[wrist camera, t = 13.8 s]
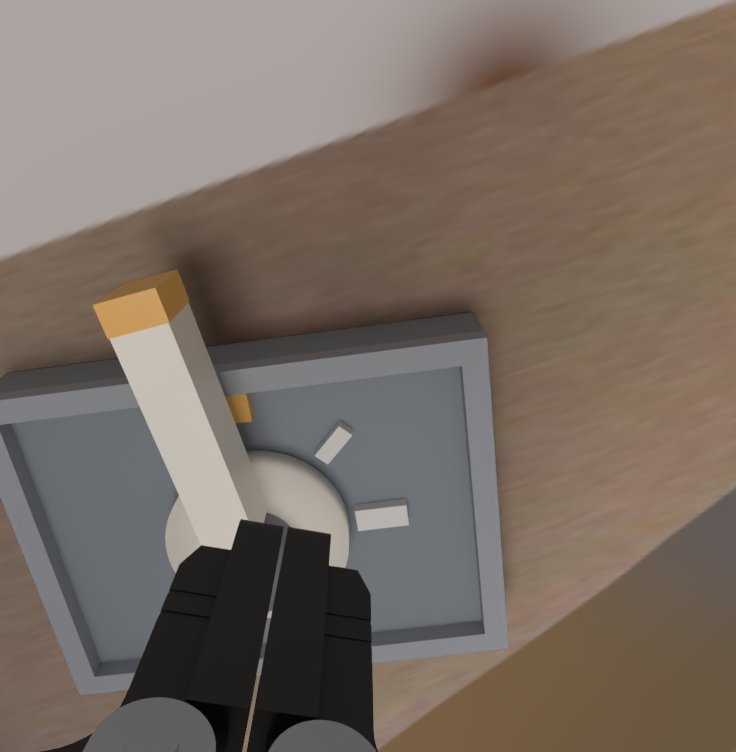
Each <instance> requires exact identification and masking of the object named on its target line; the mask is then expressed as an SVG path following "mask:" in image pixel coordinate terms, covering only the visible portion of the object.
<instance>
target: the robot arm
mask: <svg viewBox="0 0 736 752" xmlns="http://www.w3.org/2000/svg"><path fill="white" fill-rule="evenodd" d="M283 529H284V526H279V525H273V524H267V523H261V522H255V521H249V520H242V519H241V520H240V522H239V525H238V529H237V532H236V535H235V538H234V542H233V545H232V548H231V550H228V549H222V548H215V547H209V546H203V545H201V546H200V547H199V548H198V549H196V550H195V551H194V552H193V553H192V554H191V555H189V556H188V557H187V558H186V559H185V560H184V561H183V562H181V563H180V564H179V567H178V569H177V572H176V574H175V577H174V579H173V581H172V584H171V586H170V589H169V593H168V594H167V596H166V599H165V601H164V604H163V606H162V608H161V612H160V615H159V616H158V618H157V621H156V623H155V626H154V628H153V630H152V633H151V635H150V638H149V640H148V643H147V645H146V648H145V650H144V653H143V655H142V657H141V660H140V662H139V665H138V667H137V670H136V672H135V675H134V677H133V680H132V682H131V684H130V687H129V689H128V692H127V694H126V697H125V699H124V701H123V703H122V704H121V706H120V707H119V709H117V710H115V711H114V712H112V713H111V714H110V715H109V716H107V717H106V718H105V719H104V720H103V721H102V722H101V723H100V724H99V725H98V726H97V728H96V729H95V731H94V732H93V733H92V734H90V735H89V736H87V737H86V738H83V739H81V740H79V741H77V742H75V743H73V744H70V745H67V746H64V747H61V748H57V749H52V750H48V751H42V752H242V749H243V744H244V738H245V733H246V728H247V722H248V717H249V712H250V706H251V701H252V696H253V691H254V685H255V680H256V675H257V669H258V664H259V659H260V653H261V648H262V643H263V637H264V632H265V627H266V621H267V616H268V611H269V605H270V600H271V594H272V589H273V584H274V578H275V573H276V567H277V562H278V557H279V551H280V546H281V540H282V535H283ZM330 544H331V534H329V533H323V532H317V531H310V530H304V529H298V528H292V527H288V530H287V535H286V540H285V545H284V551H283V556H282V561H281V567H280V572H279V577H278V583H277V588H276V594H275V599H274V604H273V610H272V615H271V620H270V626H269V631H268V637H267V642H266V648H265V653H264V659H263V664H262V670H261V675H260V681H259V687H258V692H257V698H256V703H255V709H254V714H253V720H252V725H251V731H250V736H249V742H248V747H247V752H378V751H377V748H376V744H375V740H374V731H373V683H372V647H371V642H372V633H371V594H370V592H369V590H368V588H367V586H366V584H365V583H364V581H363V579H362V577H361V575H360V574H359V572H358V570H354V569H347V568H341V567H335V566H329V558H330Z"/></svg>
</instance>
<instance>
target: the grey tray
mask: <svg viewBox="0 0 736 752" xmlns="http://www.w3.org/2000/svg"><path fill="white" fill-rule="evenodd" d="M206 349H207V351H208V354H209V357H210V359H211V362H212V364H213V367H214V369H215V372H216V375H217V377H218V380H219V382H220V385H221V388H222V390H223V393H224V395H225V398H226V400H227V403H228V406H229V408H230V411H231V413H232V416H233V418H234V421H235V424H236V426H237V429H238V431H239V434H240V437H241V439H242V442H243V444H244V447H245V449H246V451H252V450H261V451H272V452H278V453H282V454H286V455H289V456H292V457H295V458H297V459H300V460H302V461H304V462H306V463H307V464H309V465H311V466H313V467H314V468H315V469H317V470H318V471H320V472H321V473H322V474H323V475H324V476H325V477H326V478H327V479H329V480H330V482H331V483H332V484H333V485H334V486H335V488H336V489H337V490H338V492H339V494H340V495H341V497H342V499H343V501H344V504H345V506H346V509H347V513H348V517H349V526H350V532H349V555H348V560H347V564H346V567H345V568H347V569H354V570H358V572H359V574H360V575H361V577H362V579H363V581H364V583H365V584H366V586H367V588H368V590H369V592H370V594H371V633H372V642H371V647H372V663H381V662H390V661H399V660H409V659H418V658H427V657H436V656H445V655H454V654H464V653H473V652H482V651H491V650H500V649H508V635H507V620H506V606H505V591H504V577H503V562H502V548H501V533H500V519H499V504H498V490H497V475H496V461H495V446H494V432H493V417H492V403H491V388H490V374H489V359H488V345H487V337H486V335H485V333H484V331H483V330H482V328H481V326H480V324H479V322H478V321H477V319H476V317H475V315H474V314H473V312H470V313H462V314H455V315H447V316H439V317H432V318H424V319H416V320H409V321H401V322H393V323H386V324H378V325H370V326H363V327H355V328H347V329H340V330H332V331H324V332H317V333H309V334H301V335H294V336H286V337H278V338H271V339H263V340H255V341H248V342H240V343H232V344H225V345H217V346H210V347H206ZM178 496H179V494H178V492H177V490H176V488H175V485H174V483H173V481H172V479H171V476H170V474H169V472H168V469H167V467H166V465H165V463H164V460H163V458H162V456H161V454H160V451H159V449H158V447H157V445H156V442H155V440H154V438H153V436H152V433H151V431H150V429H149V427H148V424H147V422H146V420H145V418H144V415H143V413H142V411H141V409H140V406H139V404H138V402H137V400H136V397H135V395H134V393H133V391H132V388H131V386H130V384H129V382H128V379H127V377H126V375H125V373H124V370H123V368H122V366H121V364H120V361H119V359H110V360H102V361H95V362H87V363H79V364H72V365H64V366H56V367H49V368H41V369H33V370H26V371H18V372H10V373H7V374H5V375H4V376H2V377H1V378H0V498H1V500H2V503H3V505H4V508H5V510H6V513H7V515H8V518H9V520H10V523H11V525H12V528H13V530H14V533H15V535H16V538H17V540H18V543H19V545H20V548H21V550H22V553H23V555H24V558H25V560H26V563H27V565H28V568H29V570H30V573H31V575H32V578H33V580H34V583H35V585H36V587H37V590H38V592H39V595H40V597H41V600H42V602H43V605H44V607H45V610H46V612H47V615H48V617H49V620H50V622H51V625H52V627H53V630H54V632H55V635H56V637H57V640H58V642H59V645H60V647H61V650H62V652H63V655H64V657H65V660H66V662H67V665H68V667H69V670H70V672H71V675H72V677H73V680H74V682H75V685H76V687H77V690H78V692H79V695H88V694H97V693H106V692H115V691H124V690H128V689H129V687H130V684H131V682H132V680H133V677H134V675H135V672H136V670H137V667H138V665H139V662H140V660H141V657H142V655H143V653H144V650H145V648H146V645H147V643H148V640H149V638H150V635H151V633H152V630H153V628H154V626H155V623H156V621H157V618H158V616H159V615H160V612H161V608H162V606H163V604H164V601H165V599H166V596H167V594H168V593H169V589H170V586H171V584H172V581H173V579H174V577H175V574H176V573H175V571H174V570H173V568H172V566H171V563H170V561H169V558H168V555H167V550H166V544H165V532H166V525H167V521H168V517H169V515H170V513H171V510H172V508H173V506H174V504H175V502H176V500H177V498H178ZM270 620H271V618H267V621H266V627H265V632H264V637H263V643H262V648H261V653H260V659H259V664H258V669H257V675H256V676H260V675H261V670H262V664H263V659H264V653H265V648H266V642H267V637H268V631H269V626H270Z"/></svg>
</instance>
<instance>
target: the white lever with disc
mask: <svg viewBox="0 0 736 752" xmlns="http://www.w3.org/2000/svg"><path fill="white" fill-rule="evenodd" d="M93 307H94V310H95V312H96V314H97V316H98V319H99V321H100V323H101V325H102V328H103V330H104V332H105V334H106V337H107V339H110V341H111V343H112V346H113V348H114V350H115V352H116V355H117V357H118V359H119V361H120V364H121V366H122V368H123V370H124V373H125V375H126V377H127V379H128V382H129V384H130V386H131V388H132V391H133V393H134V395H135V397H136V400H137V402H138V404H139V406H140V409H141V411H142V413H143V415H144V418H145V420H146V422H147V424H148V427H149V429H150V431H151V433H152V436H153V438H154V440H155V442H156V445H157V447H158V449H159V451H160V454H161V456H162V458H163V460H164V463H165V465H166V467H167V469H168V472H169V474H170V476H171V479H172V481H173V483H174V485H175V488H176V490H177V492H178V494H179V496H178V498H177V500H176V502H175V504H174V506H173V508H172V510H171V513H170V515H169V517H168V521H167V525H166V532H165V544H166V550H167V555H168V558H169V561H170V563H171V566H172V568H173V570H174V571H175V573H176V572H177V569H178V567H179V564H180V563H181V562H183V561H184V560H185V559H186V558H187V557H188V556H189V555H191V554H192V553H193V552H194V551H195V550H196V549H198V548H199V547H200V546H201V545H203V546H209V547H215V548H222V549H228V550H231V548H232V545H233V542H234V538H235V535H236V532H237V529H238V525H239V522H240V520H241V519H242V520H249V521H255V522H261V523H267V524H273V525H279V526H284V529H283V535H282V540H281V546H280V551H279V557H278V562H277V567H276V573H275V578H274V584H273V589H272V594H271V600H270V605H269V611H268V616H267V618H271V615H272V610H273V604H274V599H275V594H276V588H277V583H278V577H279V572H280V567H281V561H282V556H283V551H284V545H285V540H286V535H287V530H288V527H292V528H298V529H304V530H310V531H317V532H323V533H329V534H331V544H330V558H329V566H335V567H341V568H345V567H346V564H347V560H348V555H349V532H350V526H349V517H348V513H347V509H346V506H345V504H344V501H343V499H342V497H341V495H340V494H339V492H338V490H337V489H336V488H335V486H334V485H333V484H332V483H331V482H330V480H329V479H327V478H326V477H325V476H324V475H323V474H322V473H321V472H320V471H318V470H317V469H315V468H314V467H313V466H311V465H309V464H307V463H306V462H304V461H302V460H300V459H297V458H295V457H292V456H289V455H286V454H282V453H278V452H272V451H261V450H252V451H246V449H245V447H244V444H243V442H242V439H241V437H240V434H239V431H238V429H237V426H236V424H235V421H234V418H233V416H232V413H231V411H230V408H229V406H228V403H227V400H226V398H225V395H224V393H223V390H222V388H221V385H220V382H219V380H218V377H217V375H216V372H215V369H214V367H213V364H212V362H211V359H210V357H209V354H208V351H207V349H206V346H205V344H204V341H203V338H202V336H201V333H200V331H199V328H198V326H197V323H196V320H195V318H194V315H193V313H192V310H191V307H190V305H189V298H188V295H187V293H186V290H185V288H184V285H183V282H182V280H181V277H180V275H179V272H178V270H177V269H176V270H173V271H169V272H165V273H162V274H158V275H155V276H151V277H147V278H144V279H140V280H137V281H133V282H130V283H126V284H122V285H120V286H119V287H117V288H116V289H114V290H113V291H112V292H110V293H109V294H107V295H106V296H105V297H103V298H102V299H100V300H99V301H98V302H96V303H95V304H93Z"/></svg>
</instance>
